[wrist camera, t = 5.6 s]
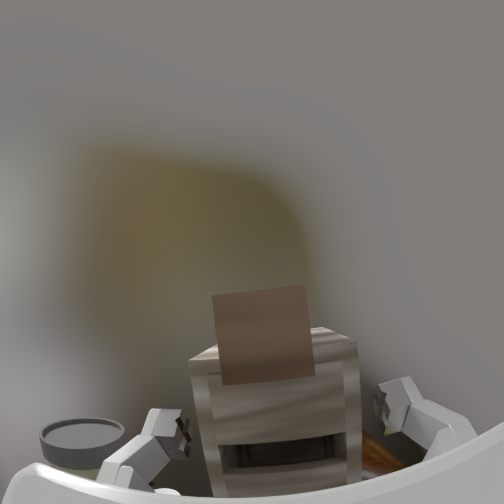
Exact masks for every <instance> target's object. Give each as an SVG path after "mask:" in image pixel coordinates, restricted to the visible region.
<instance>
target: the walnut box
mask: <svg viewBox="0 0 504 504" xmlns="http://www.w3.org/2000/svg"><path fill="white" fill-rule="evenodd" d="M212 300H213V310H214V318H215V328H216V336H217V345H218V353H219V361H220V369H221V376H222V384H223V385H238V384H251V383H262V382H272V381H280V380H289V379H296V378H304V377H310V376H315V367H314V357H313V348H312V338H311V330H310V322H309V313H308V305H307V297H306V289H305V285H296V286H289V287H281V288H274V289H265V290H257V291H249V292H241V293H232V294H223V295H214V296H212Z"/></svg>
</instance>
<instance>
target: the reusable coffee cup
mask: <svg viewBox="0 0 504 504" xmlns="http://www.w3.org/2000/svg"><path fill="white" fill-rule="evenodd" d="M39 437H40V442H41V447H42V451H43V455H44V457H45V458H46V459H47V460H48V461H49V463H50V465H51V467H53V468H55V469H58V470H61V471H64V472H67V473H70V474H73V475H76V476H80V477H83V478H87V479H90V480H94V481H96V479H97V476H98V474H99V471H100V469H101V466H102V464H103V461H104V460H106V459H107V458H108V457H110V456H111V455H112V454H114V453H115V452H116V451H118V450H119V449H120V448H122V447H123V446H124V445H126V444H127V443H128V442H129V440H128V438H127V435H126V432H125V430H124V427H123V426H122V425H121V424H119V423H118V422H115V421H112V420H108V419H102V418H72V419H65V420H60V421H57V422H53V423H50V424H48V425H46V426H45V427H43V428H42V429H41V430H40V432H39Z"/></svg>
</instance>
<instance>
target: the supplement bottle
mask: <svg viewBox="0 0 504 504" xmlns="http://www.w3.org/2000/svg"><path fill="white" fill-rule="evenodd" d="M154 491H155V492H156V493H160V494H168V495H177V496H181V495H180V494H179V493H178V492H177V491H175V490H172V489H166V488H163V489H155V490H154Z"/></svg>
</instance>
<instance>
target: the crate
mask: <svg viewBox="0 0 504 504" xmlns="http://www.w3.org/2000/svg"><path fill="white" fill-rule="evenodd" d="M310 330H311V338H312V348H313V357H314V367H315V376H310V377H304V378H296V379H289V380H280V381H272V382H262V383H251V384H238V385H223V384H222V376H221V369H220V361H219V353H218V345H217V344H216V345H215V346H213V347H211V348H210V349H208V350H206V351H204V352H203V353H201V354H199V355H197V356H195V357H194V358H192V359H190V360H189V366H190V373H191V380H192V387H193V393H194V400H195V405H196V412H197V417H198V423H199V429H200V434H201V440H202V444H203V450H204V455H205V460H206V464H207V469H208V473H209V478H210V482H211V487H212V491H213V495H214V498H251V497H268V496H280V495H290V494H298V493H306V492H312V491H319V490H324V489H330V488H335V487H340V486H345V485H349V484H353V483H357V482H361V476H362V422H361V421H362V420H361V396H360V379H359V365H358V352H357V341H356V340H353V339H350V338H348V337H346V336H343V335H341V334H338V333H336V332H334V331H331V330H329V329H326V328H324V327H320V328H313V329H310Z"/></svg>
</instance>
